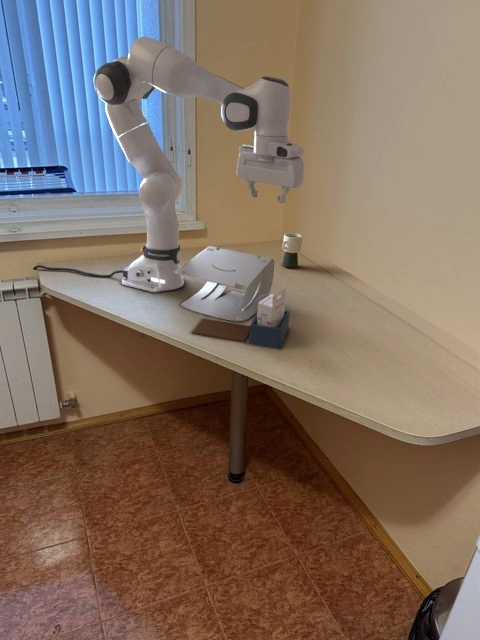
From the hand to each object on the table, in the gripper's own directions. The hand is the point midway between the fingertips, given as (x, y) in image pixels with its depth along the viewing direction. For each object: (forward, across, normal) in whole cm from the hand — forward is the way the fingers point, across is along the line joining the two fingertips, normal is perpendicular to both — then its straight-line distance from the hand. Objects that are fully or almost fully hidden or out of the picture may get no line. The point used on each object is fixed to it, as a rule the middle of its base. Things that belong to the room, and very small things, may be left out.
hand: (267, 199), depth 136 cm
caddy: (+37, +9, -8) cm, 39 cm away
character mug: (+37, -20, +49) cm, 64 cm away
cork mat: (+37, -3, -14) cm, 40 cm away
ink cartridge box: (+37, +9, -8) cm, 39 cm away
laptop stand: (+37, -15, +2) cm, 40 cm away
